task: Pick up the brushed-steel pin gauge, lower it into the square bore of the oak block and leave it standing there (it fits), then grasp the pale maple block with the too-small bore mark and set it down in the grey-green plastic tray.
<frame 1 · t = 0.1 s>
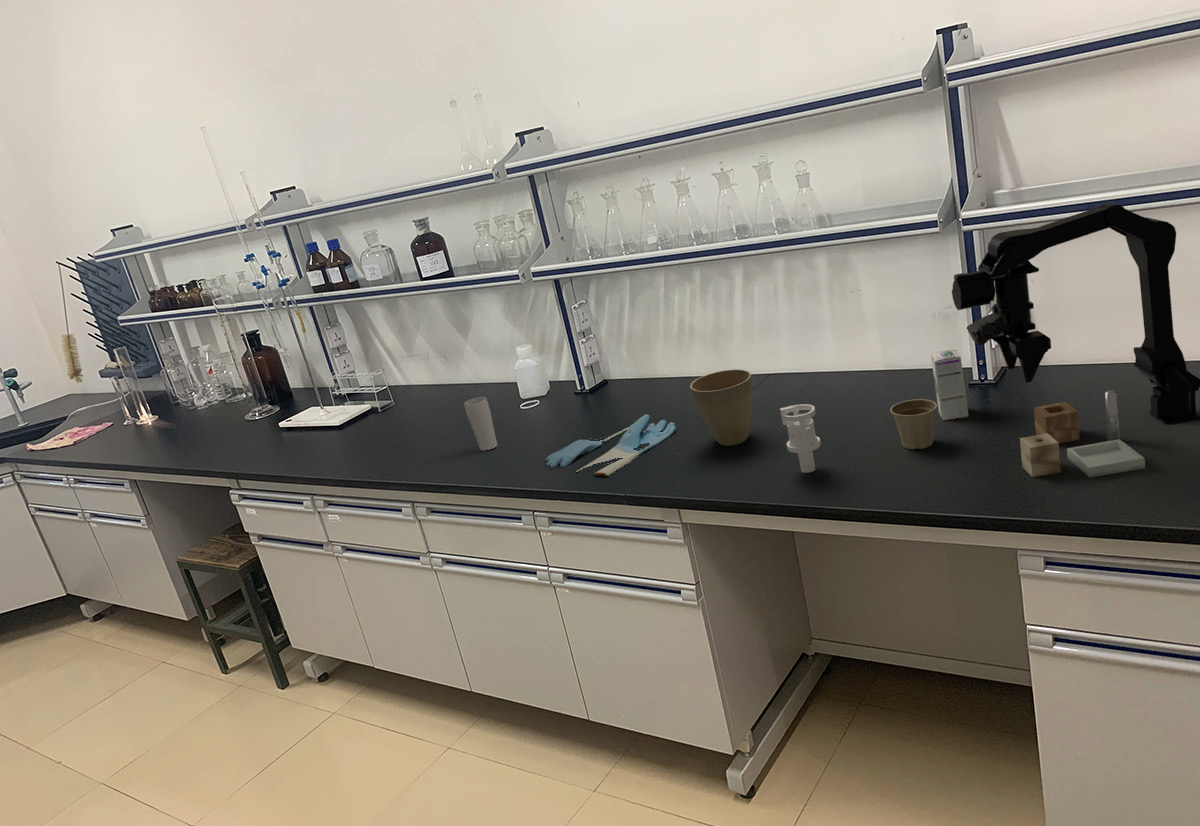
hand: (1019, 375, 171), 15 cm above the lab bench, fingers open, 9 cm apart
strainer: (808, 470, 187), on the lab bench
drinking glass: (489, 449, 253), on the lab bench
flower pot: (918, 445, 186), on the lab bench
rubber gloves: (611, 449, 231), on the lab bench
tray: (1105, 463, 159), on the lab bench
plant pot: (732, 440, 214), on the lab bench
syrup box: (953, 415, 197), on the lab bench
steel pin gauge: (1113, 440, 167), on the lab bench
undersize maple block: (1041, 469, 163), on the lab bench
bored oak block: (1057, 437, 174), on the lab bench
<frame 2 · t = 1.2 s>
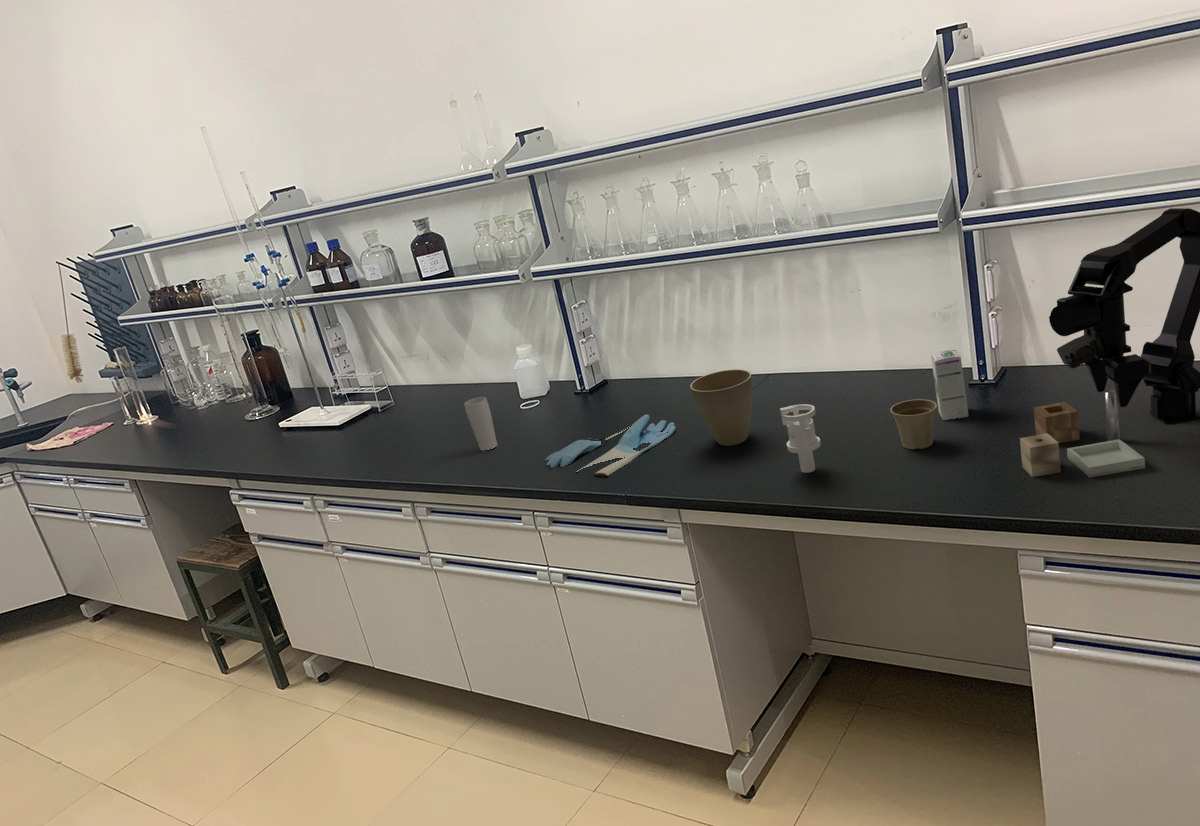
hand: (1111, 398, 165), 9 cm above the lab bench, fingers open, 9 cm apart
nothing on the lab bench moved.
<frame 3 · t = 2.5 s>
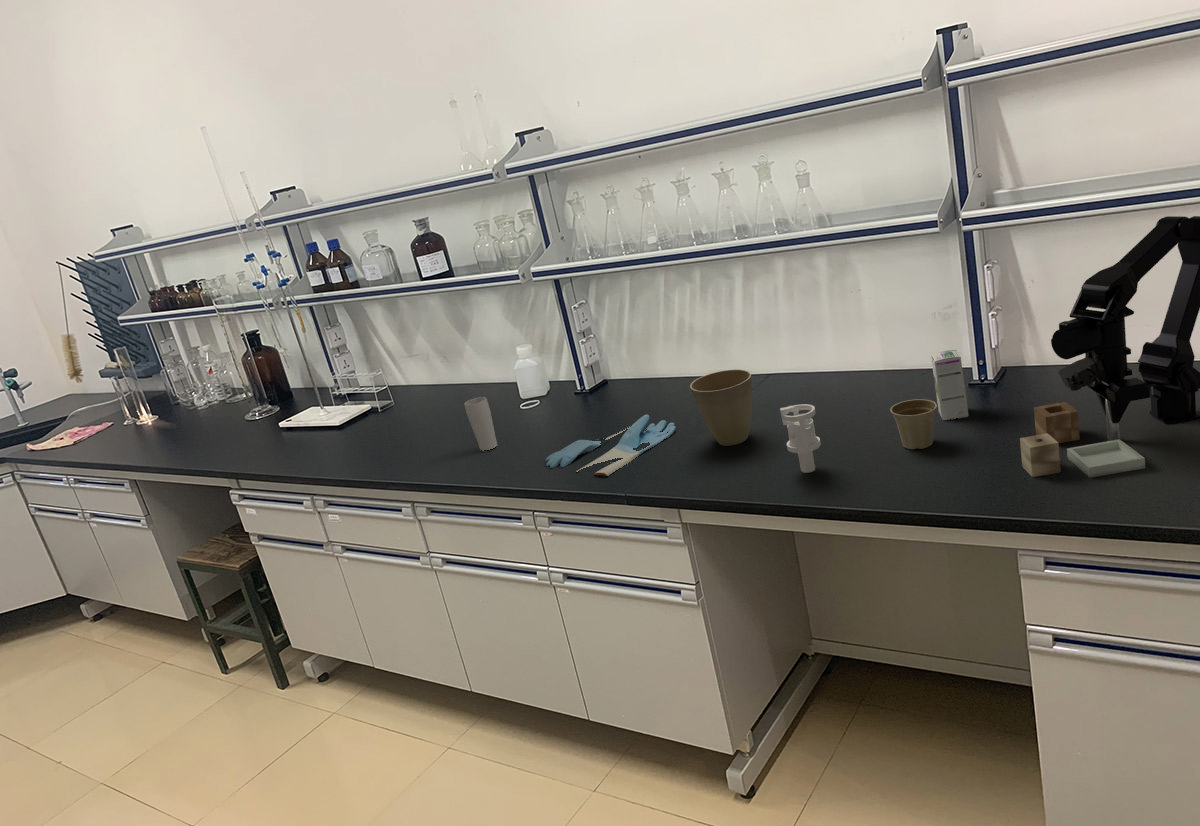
hand: (1112, 421, 166), 4 cm above the lab bench, fingers closed on steel pin gauge, 2 cm apart
steel pin gauge: (1113, 440, 167), on the lab bench, touching gripper
everything else where it was.
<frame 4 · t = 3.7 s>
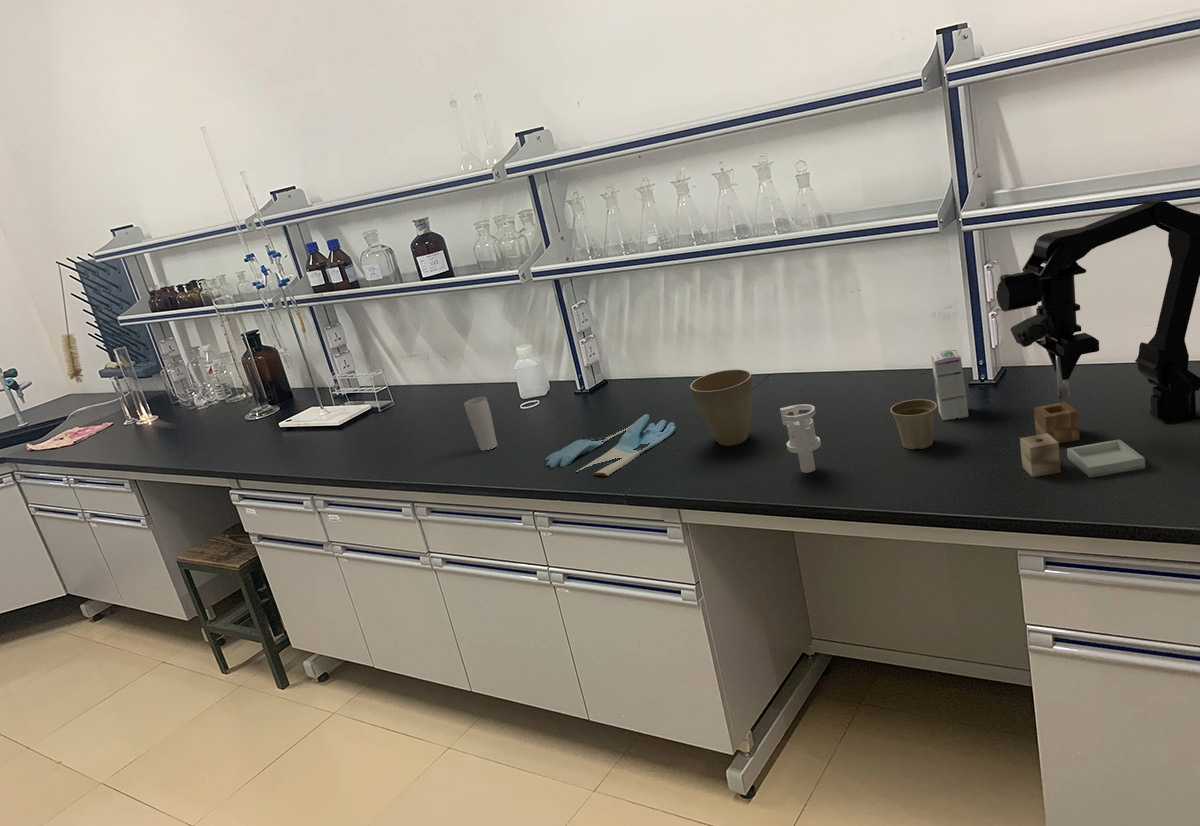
hand: (1062, 377, 169), 13 cm above the lab bench, fingers closed on steel pin gauge
steel pin gauge: (1063, 397, 170), point 9 cm above the lab bench, touching gripper
everything else where it was.
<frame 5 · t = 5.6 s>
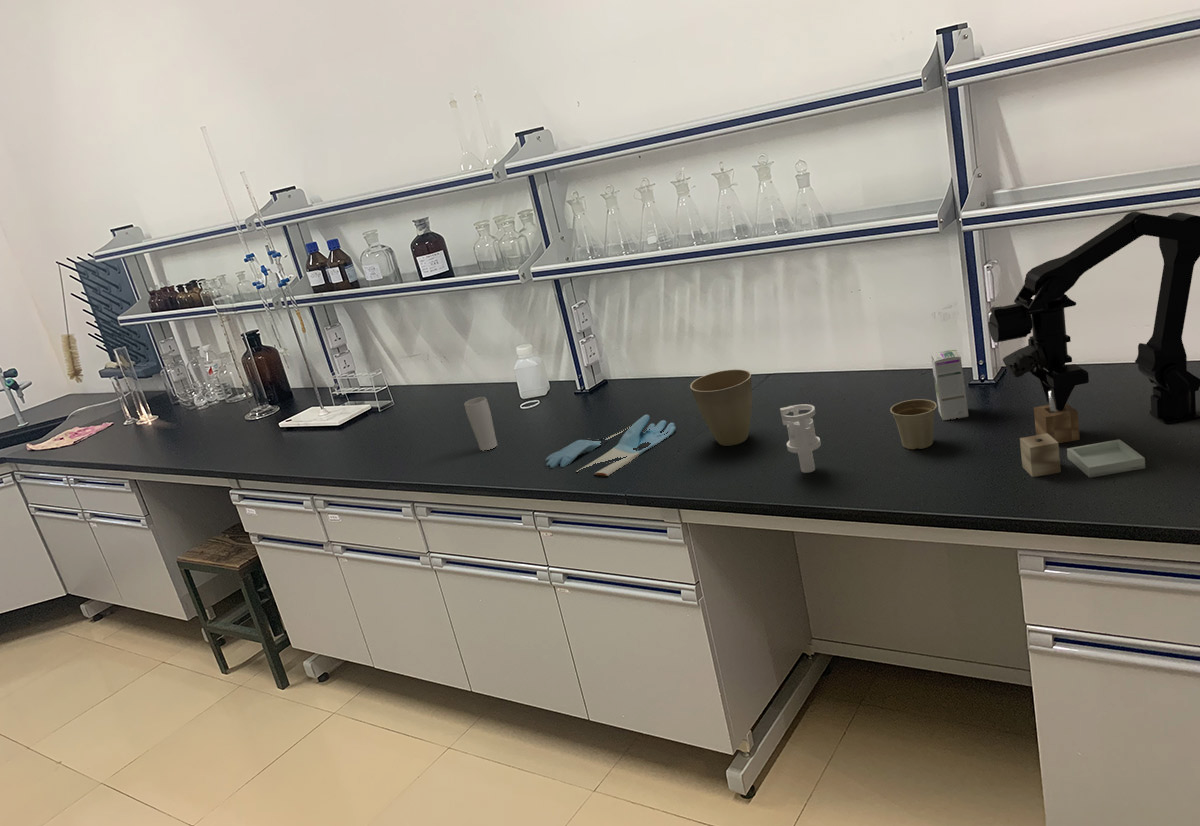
hand: (1055, 406, 172), 7 cm above the lab bench, fingers open, 4 cm apart
steel pin gauge: (1057, 437, 174), resting in bored oak block
everything else where it was.
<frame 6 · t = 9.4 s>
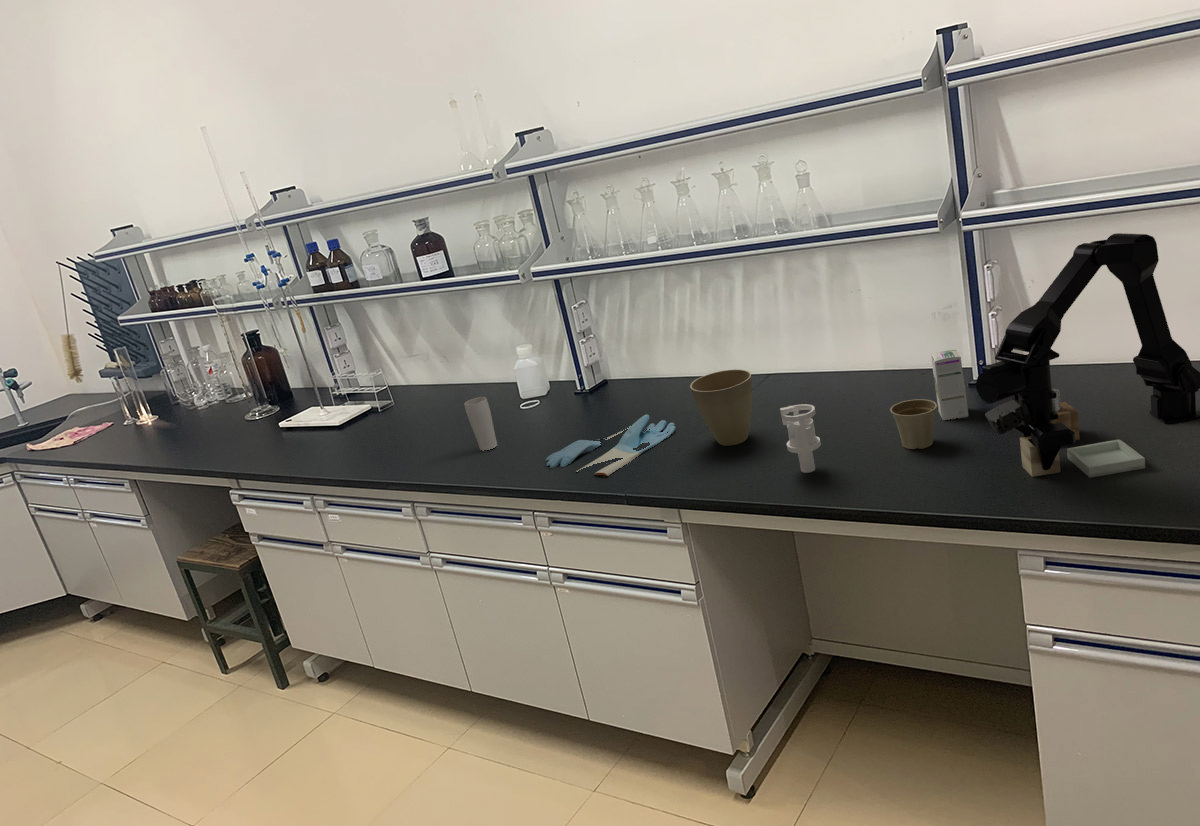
hand: (1040, 464, 163), 1 cm above the lab bench, fingers closed on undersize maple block, 5 cm apart
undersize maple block: (1041, 469, 163), on the lab bench, touching gripper
everything else where it was.
when the fingers open (3 cm above the lab bench, at t = 13.0 s): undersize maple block drops 2 cm, resting on tray.
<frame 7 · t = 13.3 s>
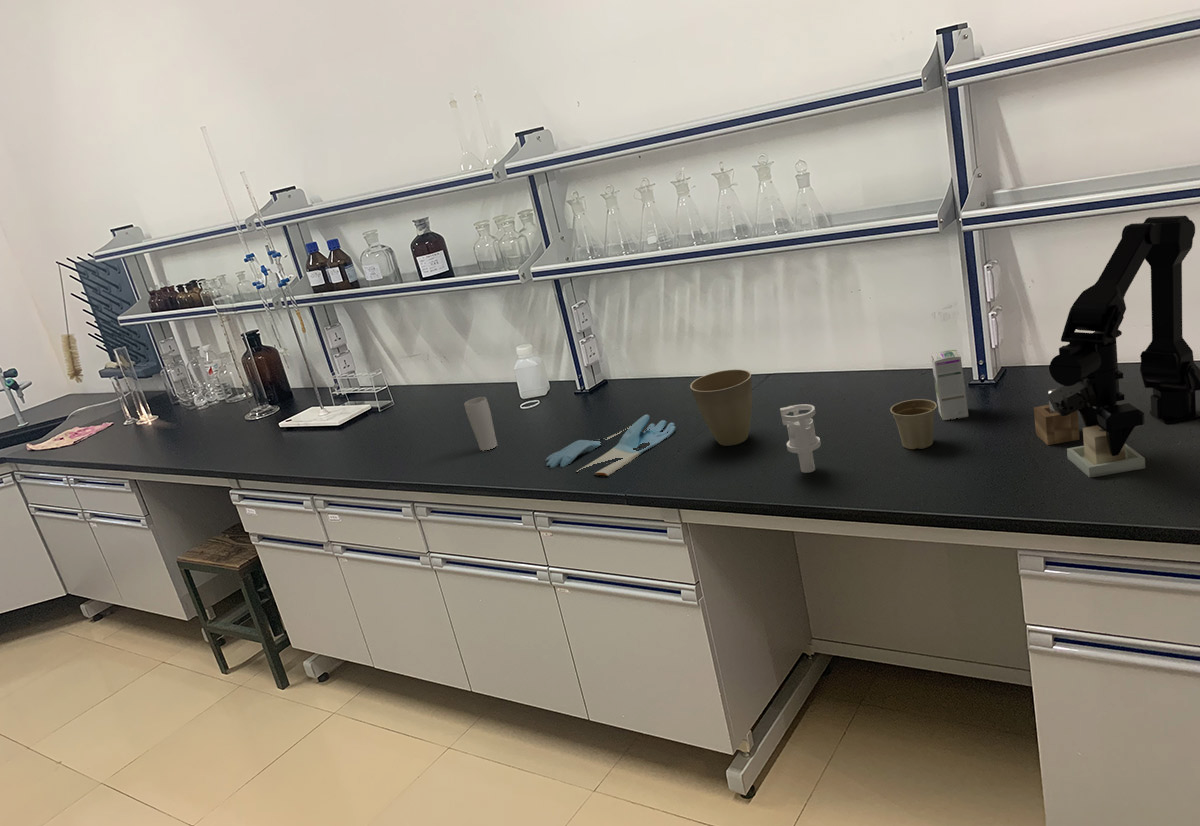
hand: (1104, 447, 159), 3 cm above the lab bench, fingers open, 8 cm apart
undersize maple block: (1105, 460, 159), point 1 cm above the lab bench, touching tray
everything else where it was.
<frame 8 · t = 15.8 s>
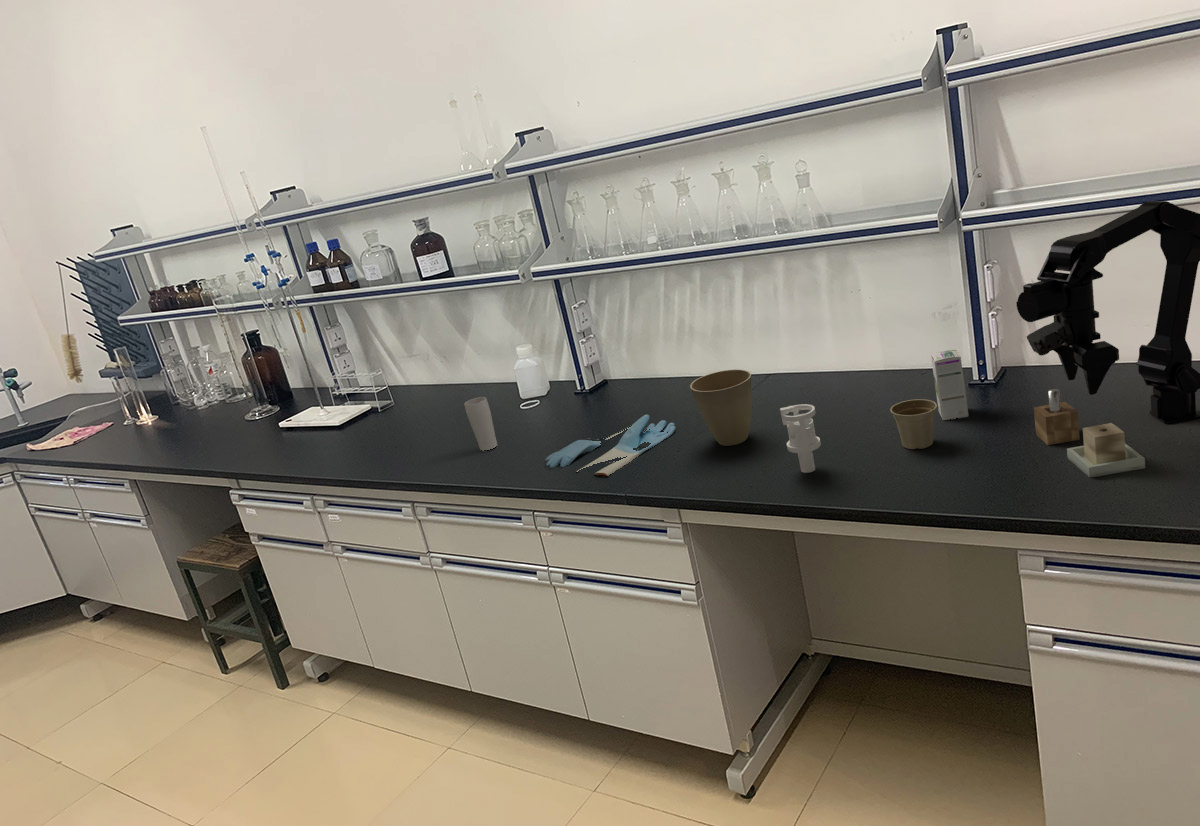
hand: (1081, 386, 163), 12 cm above the lab bench, fingers open, 9 cm apart
nothing on the lab bench moved.
at the end: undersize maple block inside the target area on the tray (0.0 cm from its centre), point 0.6 cm above the tray's base; steel pin gauge 0.0 cm from the bored oak block (horizontally); steel pin gauge resting in bored oak block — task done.
